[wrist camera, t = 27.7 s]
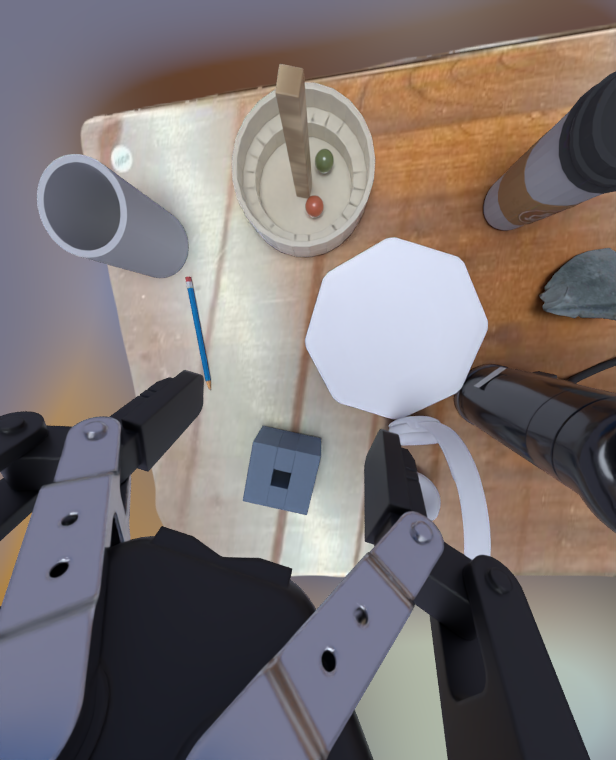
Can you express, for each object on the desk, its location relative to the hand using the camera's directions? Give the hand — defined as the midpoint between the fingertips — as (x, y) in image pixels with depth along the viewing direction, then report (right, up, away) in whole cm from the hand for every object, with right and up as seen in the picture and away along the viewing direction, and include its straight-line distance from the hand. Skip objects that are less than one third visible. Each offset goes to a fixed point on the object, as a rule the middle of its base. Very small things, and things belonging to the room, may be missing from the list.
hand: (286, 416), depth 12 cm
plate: (+13, +8, +27) cm, 31 cm away
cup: (-21, +21, +26) cm, 39 cm away
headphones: (+17, -10, +31) cm, 36 cm away
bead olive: (+3, +29, +21) cm, 36 cm away
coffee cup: (+27, +24, +23) cm, 43 cm away
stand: (-3, -11, +32) cm, 34 cm away
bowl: (+1, +27, +24) cm, 36 cm away
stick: (0, +26, +23) cm, 35 cm away
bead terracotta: (+2, +24, +22) cm, 33 cm away
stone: (+37, +15, +24) cm, 47 cm away
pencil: (-15, +8, +29) cm, 34 cm away
